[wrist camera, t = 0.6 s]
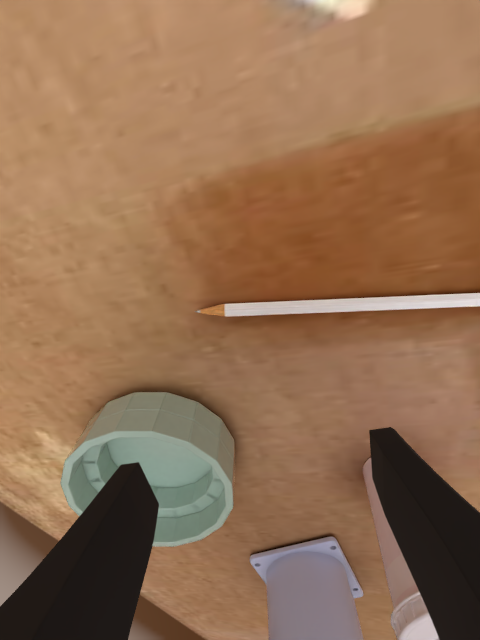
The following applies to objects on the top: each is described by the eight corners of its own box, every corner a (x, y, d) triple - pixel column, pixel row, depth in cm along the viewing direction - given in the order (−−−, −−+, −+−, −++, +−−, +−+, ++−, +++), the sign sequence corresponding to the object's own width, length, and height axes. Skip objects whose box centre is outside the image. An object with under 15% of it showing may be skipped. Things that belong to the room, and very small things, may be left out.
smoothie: (341, 497, 26) (432, 821, 13) (347, 437, 23) (471, 773, 10) (423, 496, 25) (600, 826, 13) (440, 434, 22) (688, 778, 10)
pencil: (527, 301, 18) (536, 306, 17) (196, 315, 19) (194, 320, 18) (531, 288, 18) (542, 292, 17) (194, 302, 18) (192, 307, 18)
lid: (257, 473, 25) (259, 525, 21) (139, 506, 27) (122, 560, 23) (193, 365, 21) (181, 408, 17) (60, 415, 23) (24, 462, 19)
